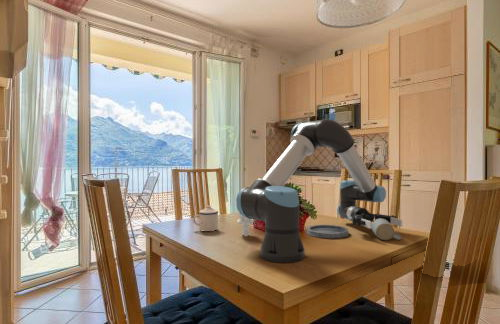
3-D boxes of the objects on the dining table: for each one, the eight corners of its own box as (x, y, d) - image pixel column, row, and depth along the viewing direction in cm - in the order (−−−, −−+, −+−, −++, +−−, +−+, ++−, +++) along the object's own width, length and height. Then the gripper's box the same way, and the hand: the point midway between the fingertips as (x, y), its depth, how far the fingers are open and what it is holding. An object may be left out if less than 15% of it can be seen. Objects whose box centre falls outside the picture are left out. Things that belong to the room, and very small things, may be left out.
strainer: (248, 238, 127) (247, 202, 127) (234, 236, 130) (233, 201, 130) (256, 234, 133) (256, 200, 133) (243, 232, 136) (242, 199, 136)
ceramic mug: (375, 241, 119) (376, 221, 119) (371, 235, 127) (371, 217, 127) (404, 242, 117) (404, 222, 117) (398, 237, 125) (398, 218, 125)
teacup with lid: (219, 227, 147) (219, 204, 147) (217, 232, 138) (217, 207, 138) (195, 228, 147) (194, 204, 147) (191, 232, 138) (191, 207, 138)
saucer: (315, 239, 122) (315, 234, 122) (301, 229, 140) (301, 225, 140) (356, 237, 125) (356, 232, 125) (337, 227, 143) (336, 223, 143)
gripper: (382, 221, 143) (414, 231, 122) (333, 224, 138) (357, 235, 118) (382, 206, 143) (413, 213, 122) (333, 208, 138) (357, 216, 118)
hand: (386, 224), depth 120 cm, fingers open, 13 cm apart
